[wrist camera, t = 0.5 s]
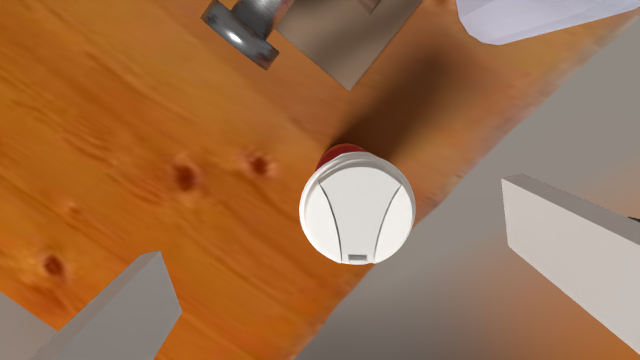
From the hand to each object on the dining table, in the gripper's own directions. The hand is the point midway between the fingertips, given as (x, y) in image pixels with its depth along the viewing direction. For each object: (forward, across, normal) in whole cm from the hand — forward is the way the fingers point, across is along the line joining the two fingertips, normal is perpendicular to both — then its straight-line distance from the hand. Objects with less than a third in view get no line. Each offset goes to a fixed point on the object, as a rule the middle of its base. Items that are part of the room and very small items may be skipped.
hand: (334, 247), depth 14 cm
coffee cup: (+26, +2, -3) cm, 26 cm away
